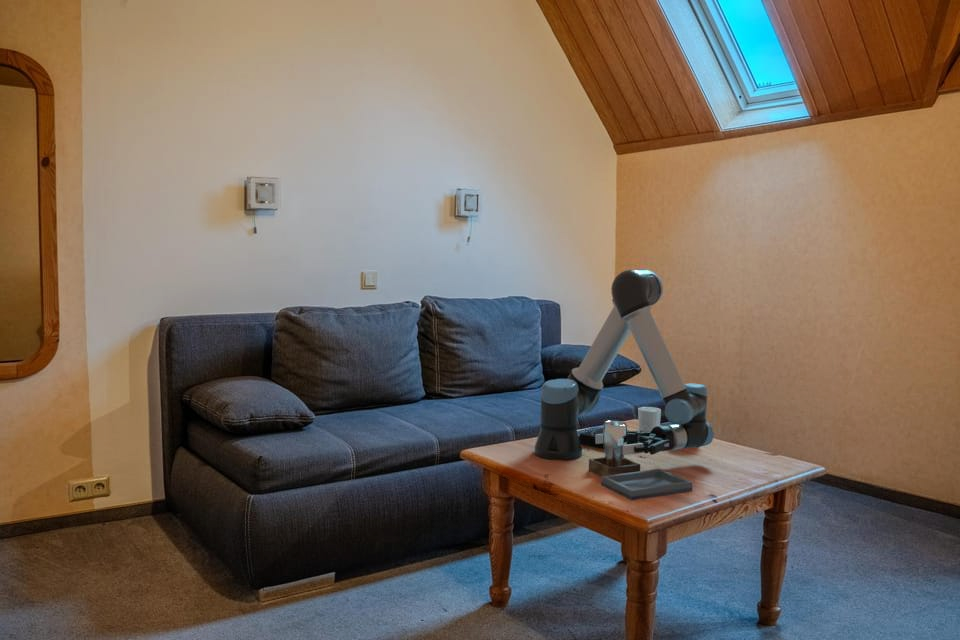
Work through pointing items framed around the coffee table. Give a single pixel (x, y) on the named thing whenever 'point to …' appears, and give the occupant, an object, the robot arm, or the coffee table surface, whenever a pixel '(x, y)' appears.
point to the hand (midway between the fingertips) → (609, 444)
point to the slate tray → (646, 484)
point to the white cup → (648, 418)
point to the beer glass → (614, 442)
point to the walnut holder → (602, 470)
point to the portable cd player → (593, 438)
